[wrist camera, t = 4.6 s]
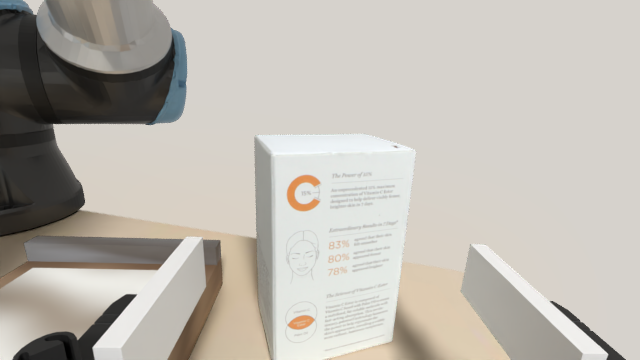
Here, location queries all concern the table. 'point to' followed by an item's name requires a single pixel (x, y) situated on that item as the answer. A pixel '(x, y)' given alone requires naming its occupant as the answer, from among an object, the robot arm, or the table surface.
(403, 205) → the small box
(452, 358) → the table surface
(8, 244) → the table surface
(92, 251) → the tray
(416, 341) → the table surface
